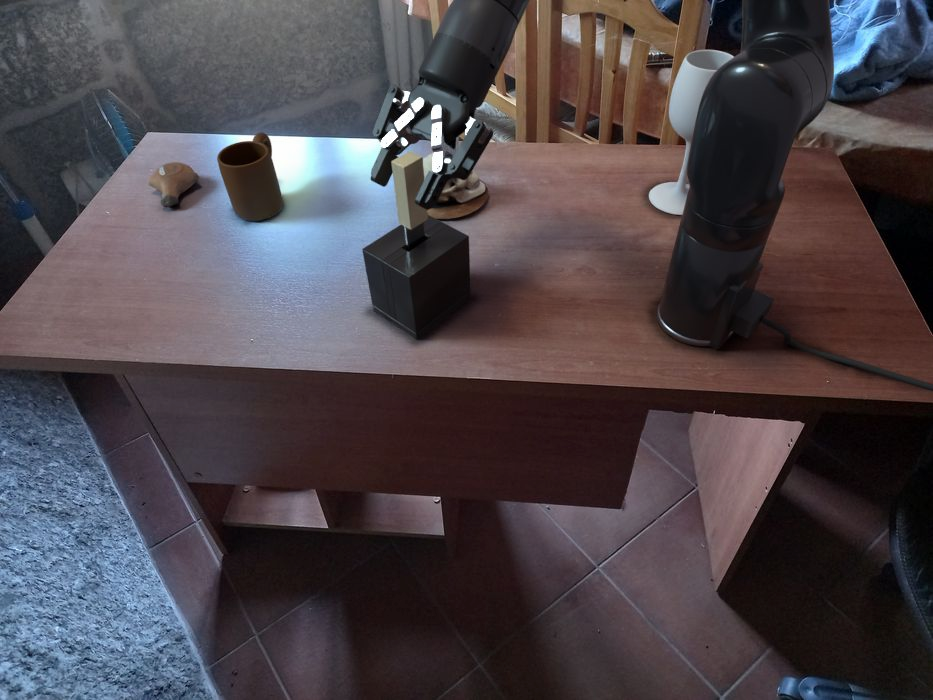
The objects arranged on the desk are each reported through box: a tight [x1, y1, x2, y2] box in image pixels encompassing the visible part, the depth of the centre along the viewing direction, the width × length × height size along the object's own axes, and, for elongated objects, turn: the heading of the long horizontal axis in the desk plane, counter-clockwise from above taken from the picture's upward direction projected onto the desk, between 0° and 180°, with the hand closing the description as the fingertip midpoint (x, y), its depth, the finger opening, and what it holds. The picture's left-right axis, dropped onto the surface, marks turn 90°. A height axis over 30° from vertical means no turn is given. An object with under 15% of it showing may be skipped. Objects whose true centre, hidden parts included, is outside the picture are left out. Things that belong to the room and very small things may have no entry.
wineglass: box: [648, 49, 735, 216], centre depth 92 cm, size 9×9×21 cm
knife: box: [391, 151, 428, 252], centre depth 77 cm, size 2×3×20 cm
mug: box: [216, 131, 284, 222], centre depth 99 cm, size 12×8×9 cm, turn 171°
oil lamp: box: [147, 161, 200, 208], centre depth 103 cm, size 9×4×8 cm
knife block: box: [361, 215, 472, 340], centre depth 81 cm, size 8×10×10 cm
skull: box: [423, 152, 489, 220], centre depth 100 cm, size 12×10×10 cm
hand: (399, 194), depth 71 cm, fingers open, 6 cm apart
